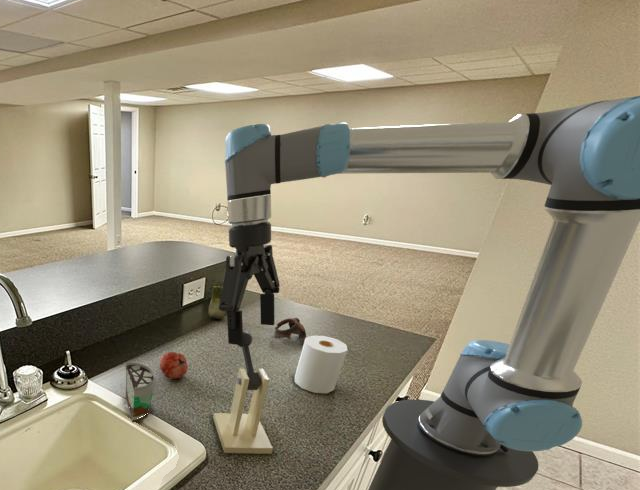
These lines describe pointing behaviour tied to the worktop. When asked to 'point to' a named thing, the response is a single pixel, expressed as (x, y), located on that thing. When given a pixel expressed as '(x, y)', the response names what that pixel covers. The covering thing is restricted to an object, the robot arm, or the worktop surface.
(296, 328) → the brown curved openwork frame
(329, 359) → the toilet paper
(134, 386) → the food container
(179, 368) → the pomegranate
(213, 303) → the fennel bulb
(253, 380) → the lever
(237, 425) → the switch bracket
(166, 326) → the worktop surface
